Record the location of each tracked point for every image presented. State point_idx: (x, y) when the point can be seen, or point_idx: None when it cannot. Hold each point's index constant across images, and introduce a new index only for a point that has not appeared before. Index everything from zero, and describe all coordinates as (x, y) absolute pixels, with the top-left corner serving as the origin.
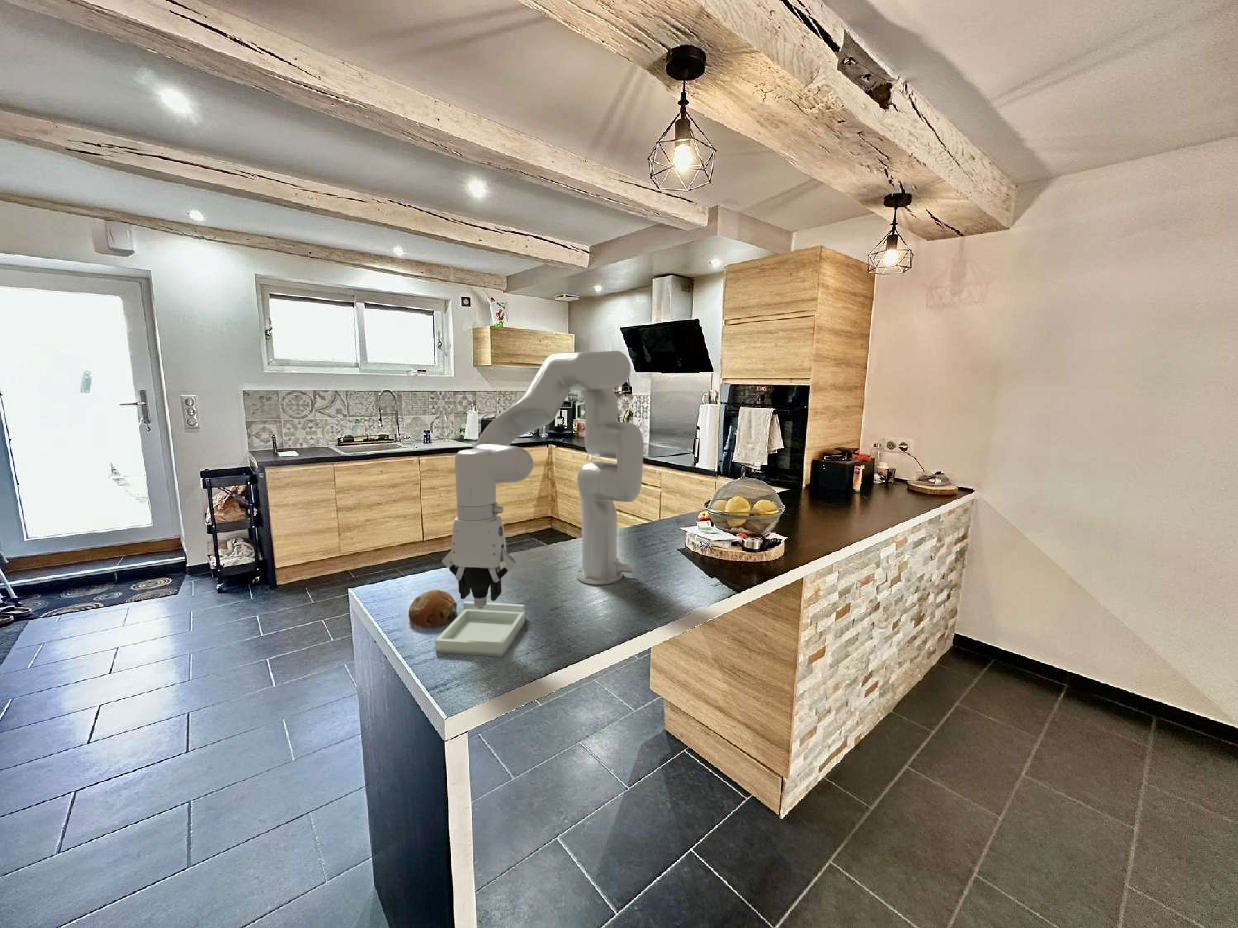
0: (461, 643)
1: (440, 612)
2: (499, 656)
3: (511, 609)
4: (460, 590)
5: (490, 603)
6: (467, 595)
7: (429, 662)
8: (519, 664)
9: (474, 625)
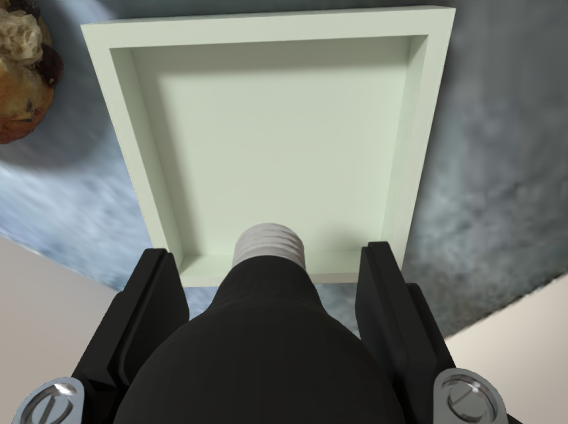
0: None
1: (5, 118)
2: None
3: None
4: None
5: None
6: (181, 284)
7: (196, 295)
8: (443, 274)
9: (205, 103)
